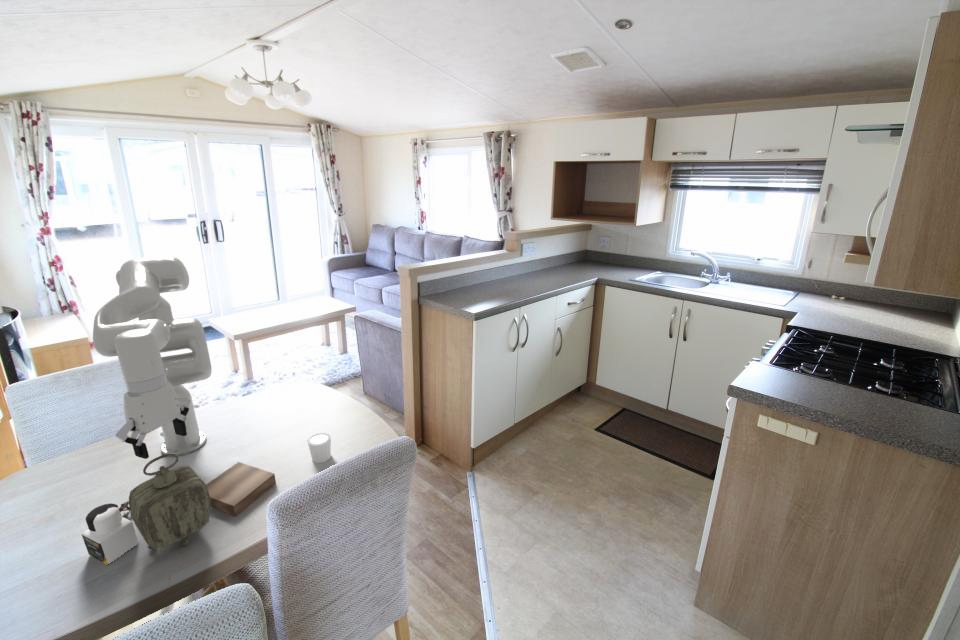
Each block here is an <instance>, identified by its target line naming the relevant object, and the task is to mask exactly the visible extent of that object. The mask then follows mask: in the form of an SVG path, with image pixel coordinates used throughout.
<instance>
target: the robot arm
mask: <svg viewBox="0 0 960 640" xmlns="http://www.w3.org/2000/svg"><path fill="white" fill-rule="evenodd" d="M115 279H116V283H117V285H118V288H119V289H118V290H119V291H118V295H117V296H115V297H113V298H112V299H110V300H109V301H107V302H106V303H105V304H104V305H103V306H101V307H100V308H99V310H98V311H97V312H96V314H95V316H94V319H93V328H92V341H93V347H94V349H95V350H96V352H97V353H98V354H99V355H100V356H101V357H108V358H109V357H110V358H112V357H117V359H118V362H119V365H120V370H121V372H122V376H123V381H124V383H125V386H126V392H125V393H123V410H124V411H123V413H124V418H125V424H123V425H122V427H121V428H120V429H119V430H117V432H116V433H115V434H114V435H115V438H117V439H118V440H120V441H121V442H123V443H125V444H129V445H132V448H133V453H134V455H135V456H136V457H137V458H141V459H144V460H146V459H149V457H150V455H149V451H148V447H147V444H146V443H145V442H144V440H145V438H146V435H147V434H150V433H151V432H153V431H155V430H157V429H159V428H161V432H160V433H159V435H160V437H163V438H164V439H163V440H164V442H163V443H162V445H160V450H161V452H162V455H165V454H175V455H177V456H183V455H187V454H189V453H192V452H194V451H197V450H198V449H200V448H201V447H202V446H203V445H204V444H205V443H206V441H207V435H206V433H204V432H203V431H200V429H199V425H198V421H197V416H196V412H195V411H196V410H195V407H194V403H193V399H192V395H191V393H190V391H189V390H188V389H187V388H186V387H185V386H183V385H185V384H190V383H195V382H200V381H204V380H205V381H206V380H207V379H209V378H210V377H211V375H212V373H213V371H212V362H211V358H210V357H211V356H210V353H209V348H208V344H207V343H208V342H207V337H206V334H205V333H206V332H205V330H204V327H203V324H202V323H201V321H200V320H199V319H197V318H193V317H188V318H187V317H186V318H179V319H174V317H173V312H172V307H171V304H170V303H169V302H168V301H167V300H166V299H165V298H164V297H163V296H161V294H164V293H171V292H181V291H185V290H187V289H188V287H189V284H190V276H189V272H188V270H187V268H186V266H185V264H184V263H183V262H182V261H181V259H179V258H178V257H175V256H167V255H166V256H156V257H141V258H133V259H130V260H128V261H125V262H124V263H123V264H122V265H121V266H120V269H119V270H117V272H116V274H115ZM135 319H138V320H135ZM132 320H133V321H132ZM186 349H188V350H190V351H191V352H186V353H179V354H171V355H166V356H162V355H161V353H166V352H168V353H170V352H173V351H180V350H186ZM129 432H131V435H130V436H129V435H128V434H129Z"/></svg>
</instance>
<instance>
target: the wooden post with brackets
mask: <svg viewBox="0 0 960 640" xmlns="http://www.w3.org/2000/svg"><path fill="white" fill-rule="evenodd" d="M119 510H120V513H121V512H125V511H127V512H125V513H123V515H121V516H122V517H124V518H126V519H127V518H129V515H130V514H131V512H130V507H129V500H127V501H124V502H122V503H121V504H120V506H119Z"/></svg>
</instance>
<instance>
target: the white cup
mask: <svg viewBox="0 0 960 640" xmlns="http://www.w3.org/2000/svg"><path fill="white" fill-rule="evenodd" d="M331 439H332V438H331V435H330V434H328V433H326V432H319V433H315V434H312V435H311V436H309V438H308V439H307V444H308V447H309V452H310V456H311V460H312V462H314V463H317V464H321V463H325V462H328V461H329V460H330V458H331V456H332V455H331Z"/></svg>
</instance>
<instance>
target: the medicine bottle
mask: <svg viewBox="0 0 960 640" xmlns="http://www.w3.org/2000/svg"><path fill="white" fill-rule="evenodd" d="M119 508H120V506H118V504H117V503H105V504H101V505H99V506H97V507H94V509H92V510H91V511H89V512H88V514H87V515H86V516H85V523H86V525H87V529H86V530H84V531H82V532H81V537H82V541H83V542H84V545H85V548H86V550H87V552H88V553H87V554H88V556H89V555H90V556H89V557H91V556H92V557H94V558H95V560H96V559H97V561H98V560H99V561H98V562H100V561H101V562H100V563H102V564H104V565H105V566H109V565H110V564H109V563H111V562H112V561H113V560H115V559H116V560H118V559H119V558H120V557H122V556H123V555H125V554H126V553H128V552H129V551H130V550H132V549H134V546H135V547H136V546H137V545H139V539H138V536H137V533H136V529H135V527H134V524H133V523H134V522H133V521H132V520H129V519H128V518H127V517H126V518H124V517H122V516H123V515H122V513H121V512H120V510H119ZM131 548H132V549H131ZM128 550H129V551H128ZM127 551H128V552H127ZM125 552H126V553H125ZM124 553H125V554H124ZM121 555H122V556H121ZM92 557H91V558H92ZM118 557H119V558H118ZM94 558H93V559H94ZM117 558H118V559H117ZM116 560H115V561H116ZM113 562H114V561H113ZM113 562H112V563H113ZM112 563H111V564H112ZM108 564H109V565H108Z"/></svg>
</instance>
